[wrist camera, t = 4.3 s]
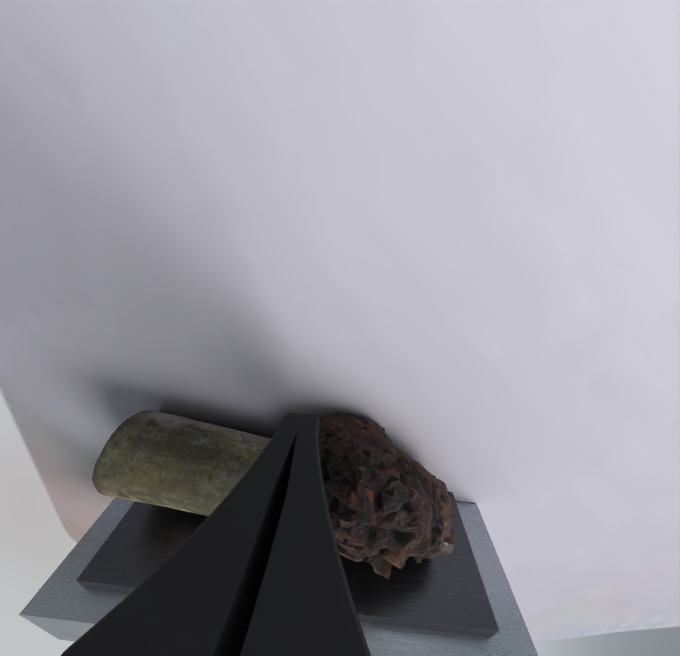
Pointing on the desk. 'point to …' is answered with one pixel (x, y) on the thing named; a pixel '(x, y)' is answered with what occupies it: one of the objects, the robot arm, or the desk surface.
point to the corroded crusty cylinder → (337, 471)
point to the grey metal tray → (365, 585)
